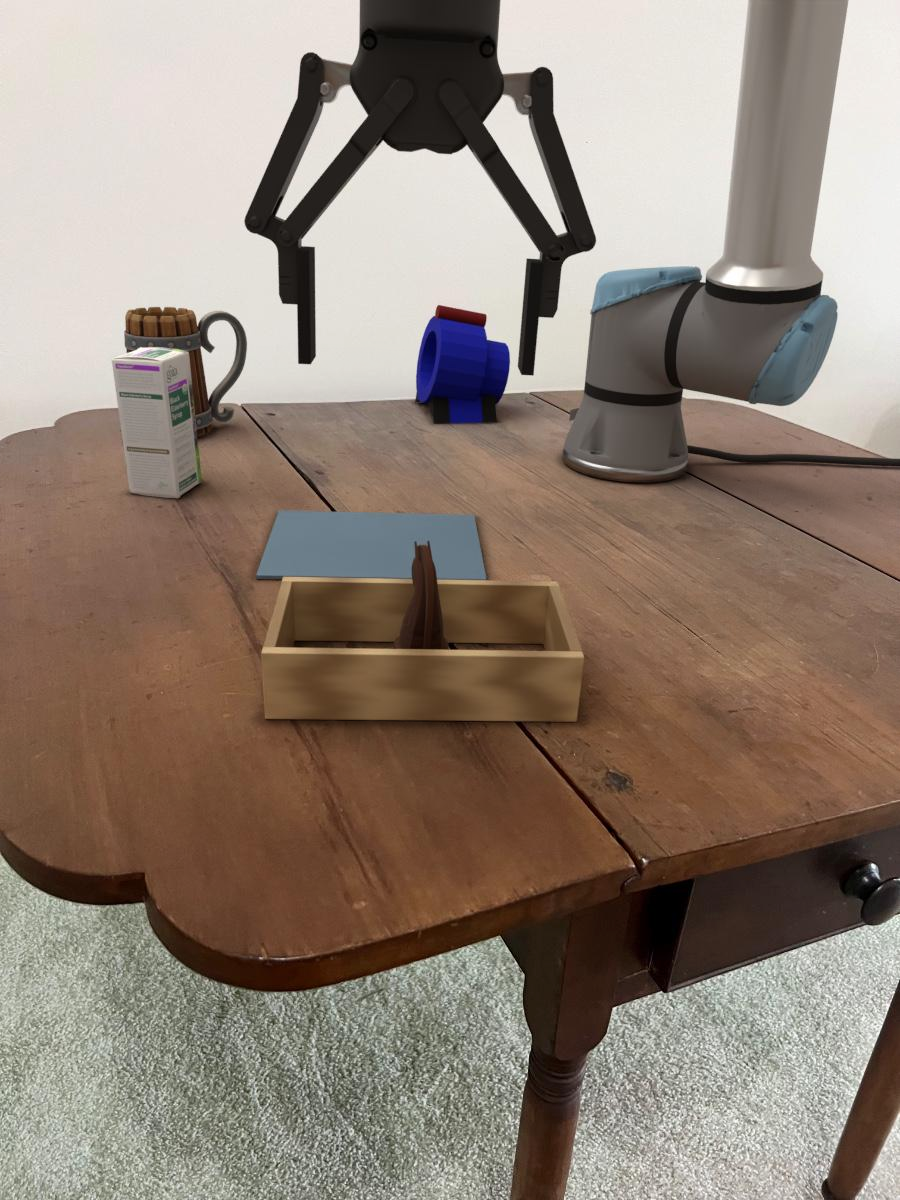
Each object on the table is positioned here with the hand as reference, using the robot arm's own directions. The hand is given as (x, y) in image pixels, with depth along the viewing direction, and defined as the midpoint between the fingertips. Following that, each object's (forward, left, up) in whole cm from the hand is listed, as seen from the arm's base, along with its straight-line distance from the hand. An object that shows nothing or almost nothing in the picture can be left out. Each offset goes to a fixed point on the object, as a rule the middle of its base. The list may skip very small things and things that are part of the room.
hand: (416, 366), depth 57 cm
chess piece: (-1, +1, -22) cm, 22 cm away
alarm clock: (-8, -74, -22) cm, 78 cm away
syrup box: (+26, -38, -22) cm, 51 cm away
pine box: (-1, +1, -22) cm, 22 cm away
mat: (+3, -23, -22) cm, 32 cm away
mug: (+28, -61, -22) cm, 71 cm away
